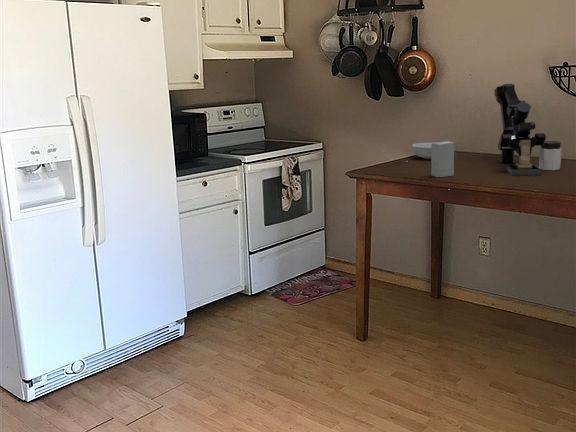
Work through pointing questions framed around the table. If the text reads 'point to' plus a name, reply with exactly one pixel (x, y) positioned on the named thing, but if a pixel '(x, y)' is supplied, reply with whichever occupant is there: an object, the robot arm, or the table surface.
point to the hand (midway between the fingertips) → (525, 155)
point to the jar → (550, 155)
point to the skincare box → (442, 159)
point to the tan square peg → (524, 152)
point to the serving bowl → (423, 150)
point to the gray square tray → (523, 170)
